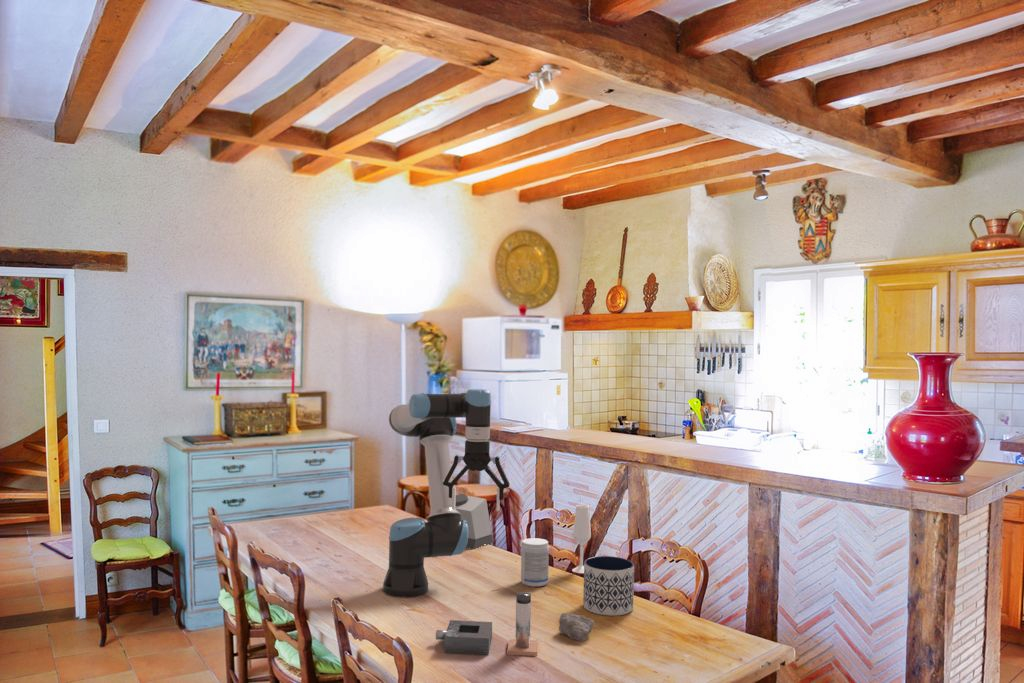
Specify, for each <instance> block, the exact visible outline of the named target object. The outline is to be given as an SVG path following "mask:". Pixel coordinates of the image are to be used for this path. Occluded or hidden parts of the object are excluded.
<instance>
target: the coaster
mask: <svg viewBox="0 0 1024 683" xmlns="http://www.w3.org/2000/svg"><path fill="white" fill-rule="evenodd" d="M515 641H516V638H514V639H512V638H511V639H510V638H509V639H508V642H507V643H508V644H507V652H506V653H507V654H506V655H510V656H511V655H513V656H532V657H533V656H534V657H536V656H538V645H539V644H538V643H539V642H538V640H535V639H530V647H528V648H518V647H516V646H515Z"/></svg>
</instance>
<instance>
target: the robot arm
mask: <svg viewBox="0 0 1024 683" xmlns="http://www.w3.org/2000/svg"><path fill="white" fill-rule="evenodd" d="M491 398H492V396H491V391H490V390H488V389H482V388H472V389H467V391H466V392H460V393H414V394H412V395H411V396H410V399H409V400H408V401H409V402H408V403H407V404H404V403H403V404H400V405H397V406H395V407H393V409H391V412H390V414H389V416H388V422H389V426H390V428H391V429H392V430H393V432H395V433H397V434H398V435H401V436H403V437H404V436H405V437H409V438H410V437H411V438H412V437H414V438H416V437H417V438H419V440H420V441H419V442H420V444H421V445H422V446H423V447H424V450H425V452H424V453H425V459H426V460H425V462H426V470H427V482H428V492H429V503H430V514H429V515H428V516H427V518H426V519H427V522H426V521H425V519H424V518H422V517H406V518H403V519H398V520H396V521H394V522H393V523H392V524H391V525H390V528H389V537H388V541H389V543H388V544H389V545H388V553H389V554H388V568H387V572H386V575H385V577H384V580H383V584H382V592H383V593H384V594H386V595H388V596H391V597H398V598H411V597H417V596H421V595H424V594H426V593H428V591H429V580H428V576H427V574H426V573H427V572H426V570H425V566H424V565H425V561H424V560H425V559H426V558H434V557H435V558H436V557H437V558H438V557H447V556H449V557H452V556H456V555H461V554H463V553H464V552H465V550H466V549H467V548H466V545H467V541H468V524H467V521H466V520H464V519H461V514H460V513H459V512H458V511H457V510H456V508H455V503H456V494H457V487H456V486H455V485H456V484H457V483H458V481H459V480H460V479H461V478H462V477H463V475H465V473H466V472H467V471H468V470H470V471H471V472H474V471H478V472H482V471H484V472H486V473H487V475H488V476H489V478H491V480H492V482H494V483H495V484H496V486H497V487H498V488H497V489H496V508H495V509H496V510H495V511H496V512H499V511H500V507H501V506H500V502H501V500H502V501H503V500H504V490H505V489H508V488H510V482H509V480H508V478H507V477H508V476H506V475H507V474H506V473H505V471H504V469H503V466H502V465H501V461H500V456H499V455H496V456H491V455H490V443H491V442H490V441H489V439H491V407H492V399H491ZM457 418H458V419H459V418H465V432H464V435H465V436H464V437H465V439H466V440H465V441H464V456H463V455H459V454H456V455H454V457H453V463H451V455H450V454H451V453H450V443H451V442H452V441H453V437H454V436H455V435H456V432H457ZM462 461H463V462H464V464H465V466H464V467H463V468H462V469H461V470H460V472H459V473H457V475H456V476H455V477H454V478H453V474H454V472H455V470H456V469H457V466H458V464H460V463H462ZM490 462H492V463H493V464H494V465H495V467H496V469H497V472H498V473H499V474H498V475H499V476H500V477H501V480H502V482H501V480H500V479H499V477H498V476H497V475H496V474H495V473H494V471H493V469H491V467H490V466H489V464H490Z"/></svg>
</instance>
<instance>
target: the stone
mask: <svg viewBox="0 0 1024 683" xmlns="http://www.w3.org/2000/svg"><path fill="white" fill-rule="evenodd" d="M558 620H559V621H558V623H559V625H558V630H559V633H561V634H565V635H567V636H568V637H569V638H571V639H572V640H577V641H578V642H585V641H586V640H587V638H588V637H589V635H590V634H591V632H592V630H593V628H594V624H595V621H594V620H593V619H592V618H587V617H586V616H585V615H581V614H580V615H577V614H575V613H570V612H568V613H561V614H560V617H559V619H558Z"/></svg>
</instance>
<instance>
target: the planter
mask: <svg viewBox="0 0 1024 683" xmlns="http://www.w3.org/2000/svg"><path fill="white" fill-rule="evenodd" d="M583 566H584V573H583V594H582V595H583V596H582V598H583V599H582V602H583V603H582V606H583V607H584V609H585V610H587V611H588V612H590V613H592V612H593V613H592V614H596V615H599V614H600V615H601V616H605V615H606V616H609V617H617V616H618V617H619V616H624V615H627V614H629V613H631V612H632V611H633V610H634V591H635V563H634V562H633V561H631V560H629V559H627V558H622V557H618V556H608V555H598V556H591V557H588V558H586V559H585V560H583ZM600 615H599V616H600Z"/></svg>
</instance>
